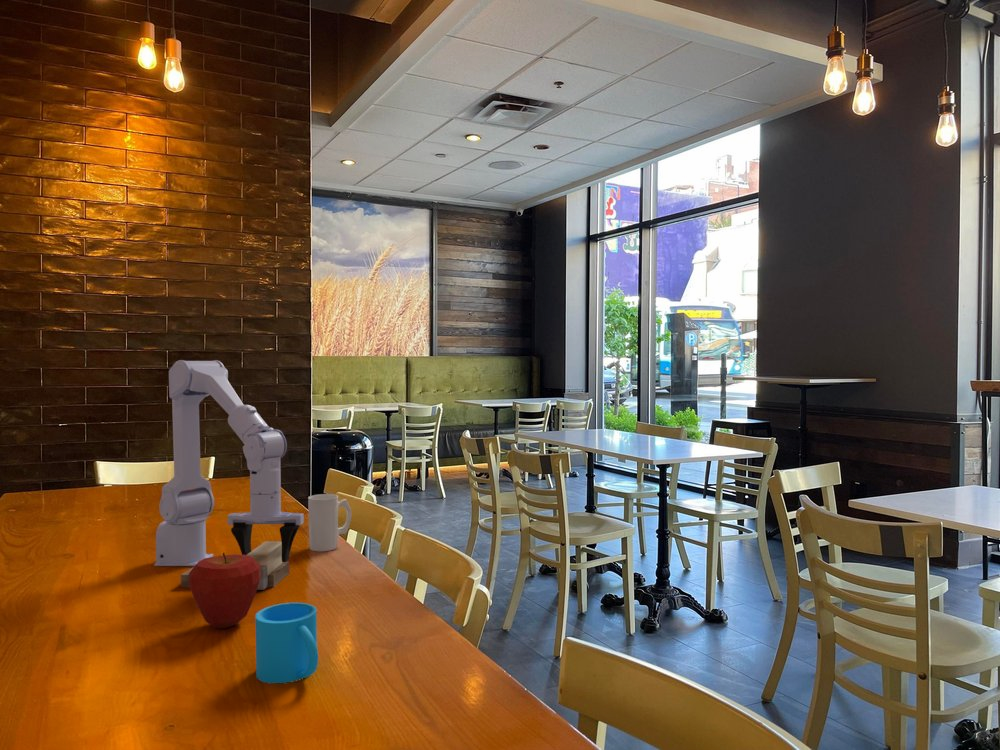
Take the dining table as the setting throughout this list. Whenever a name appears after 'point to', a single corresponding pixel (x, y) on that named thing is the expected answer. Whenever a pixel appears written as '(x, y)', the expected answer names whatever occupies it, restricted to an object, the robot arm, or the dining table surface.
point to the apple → (225, 588)
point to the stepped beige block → (267, 559)
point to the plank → (272, 577)
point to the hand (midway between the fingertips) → (266, 560)
